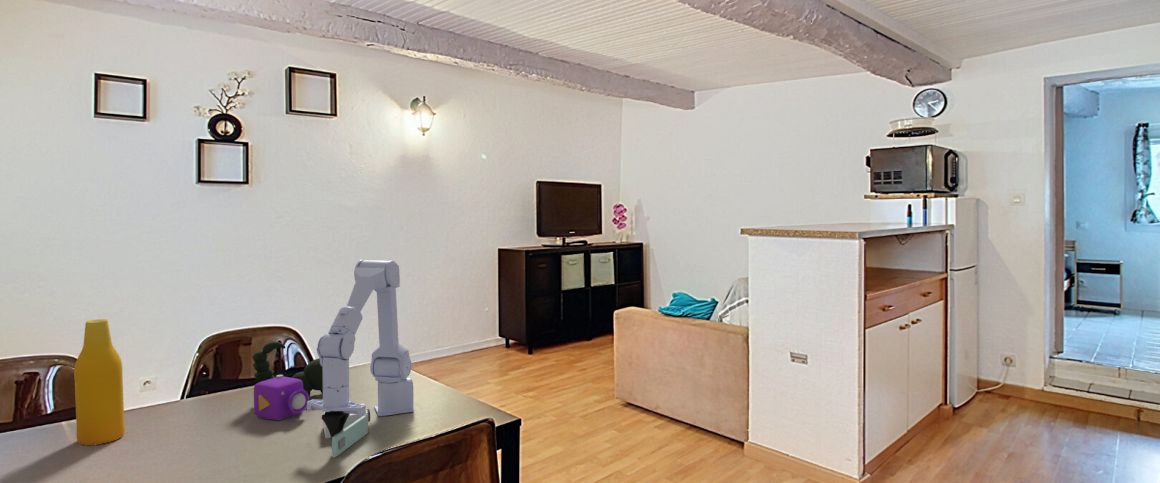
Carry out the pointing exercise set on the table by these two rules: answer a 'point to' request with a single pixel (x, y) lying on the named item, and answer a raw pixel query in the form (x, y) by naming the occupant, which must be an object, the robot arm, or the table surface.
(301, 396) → the toy camera
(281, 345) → the toy figurine
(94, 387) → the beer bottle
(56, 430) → the table surface
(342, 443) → the side door
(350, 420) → the block
